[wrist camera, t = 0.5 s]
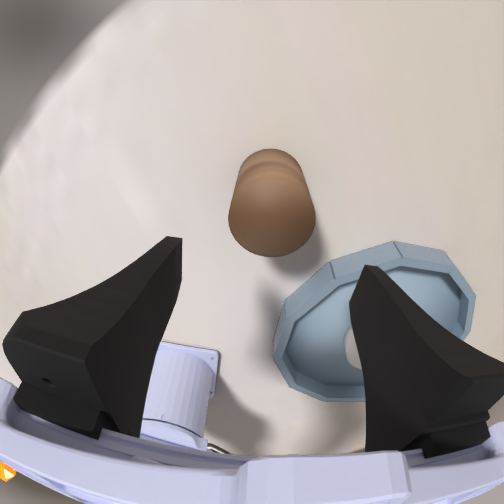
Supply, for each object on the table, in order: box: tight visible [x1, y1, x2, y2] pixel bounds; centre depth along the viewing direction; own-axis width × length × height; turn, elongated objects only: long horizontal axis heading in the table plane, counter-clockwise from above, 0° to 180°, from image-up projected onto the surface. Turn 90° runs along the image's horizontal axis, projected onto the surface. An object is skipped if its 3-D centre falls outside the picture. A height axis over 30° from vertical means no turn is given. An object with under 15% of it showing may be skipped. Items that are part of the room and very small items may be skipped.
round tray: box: [273, 241, 476, 402], centre depth 27 cm, size 20×20×2 cm
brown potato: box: [228, 149, 315, 257], centre depth 18 cm, size 4×4×6 cm
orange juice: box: [0, 463, 16, 481], centre depth 76 cm, size 8×9×20 cm
